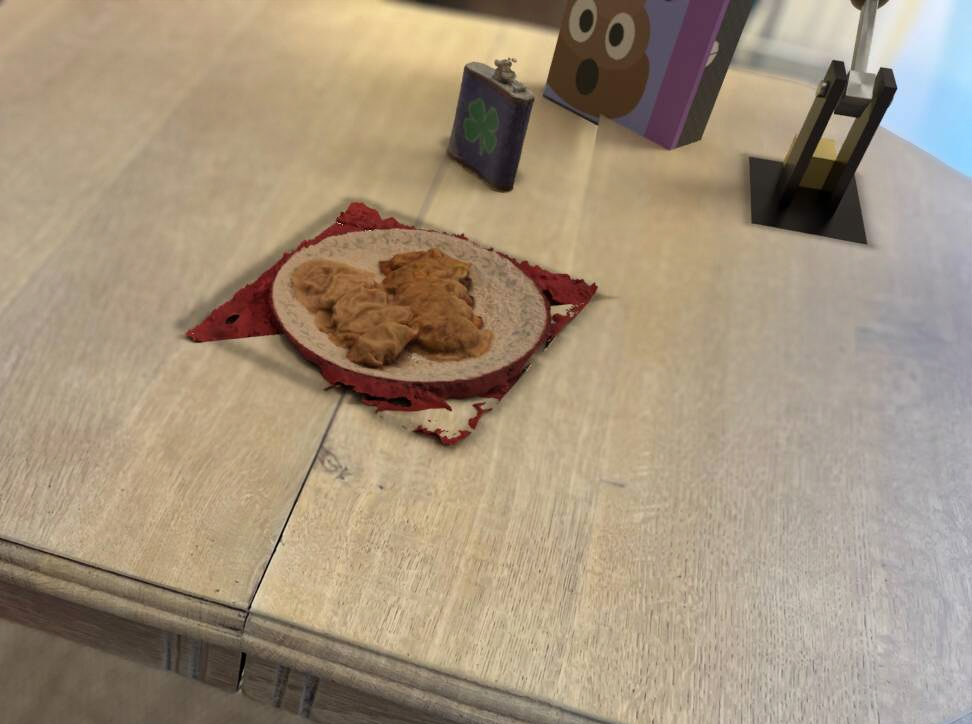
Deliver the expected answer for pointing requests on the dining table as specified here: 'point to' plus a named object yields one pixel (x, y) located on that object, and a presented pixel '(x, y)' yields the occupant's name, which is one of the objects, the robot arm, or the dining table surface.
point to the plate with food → (404, 312)
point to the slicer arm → (860, 63)
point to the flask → (491, 123)
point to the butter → (817, 163)
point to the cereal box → (646, 63)
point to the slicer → (838, 198)
